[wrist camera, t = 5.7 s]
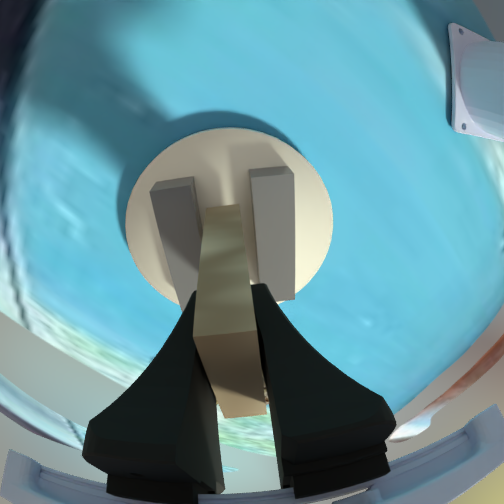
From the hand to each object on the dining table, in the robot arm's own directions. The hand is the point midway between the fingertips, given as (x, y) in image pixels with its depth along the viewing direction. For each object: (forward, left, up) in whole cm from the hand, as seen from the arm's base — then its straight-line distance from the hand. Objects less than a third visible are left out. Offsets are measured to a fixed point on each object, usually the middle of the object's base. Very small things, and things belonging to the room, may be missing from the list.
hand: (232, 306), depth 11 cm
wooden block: (0, 0, -4) cm, 4 cm away
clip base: (0, 0, -7) cm, 7 cm away
